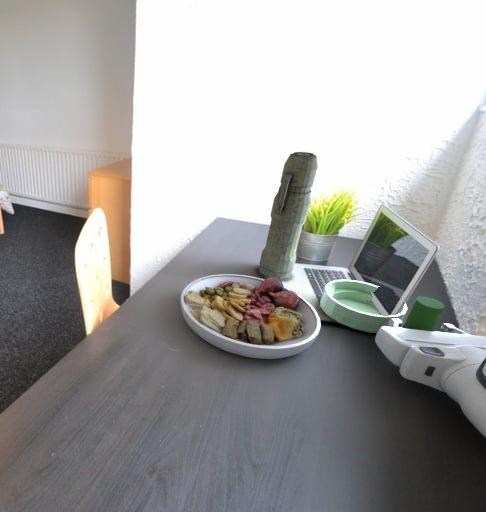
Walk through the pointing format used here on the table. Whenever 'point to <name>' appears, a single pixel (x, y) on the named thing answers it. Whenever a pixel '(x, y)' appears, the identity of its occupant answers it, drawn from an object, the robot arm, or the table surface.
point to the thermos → (288, 215)
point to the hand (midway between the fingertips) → (418, 323)
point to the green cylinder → (424, 314)
